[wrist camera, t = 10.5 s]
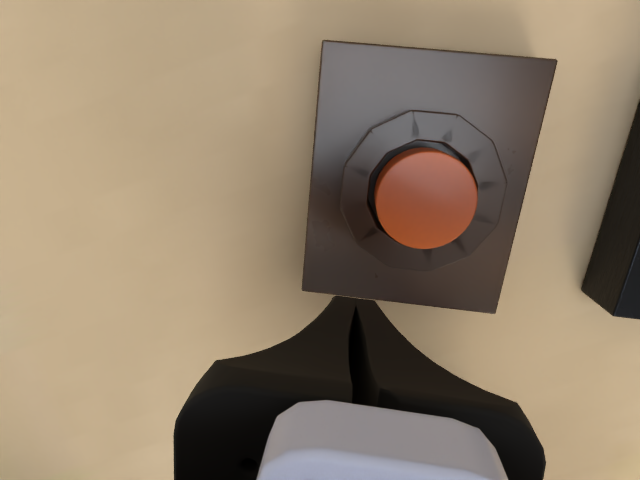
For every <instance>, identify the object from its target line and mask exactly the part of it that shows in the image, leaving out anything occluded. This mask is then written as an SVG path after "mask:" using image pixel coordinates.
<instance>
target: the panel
mask: <svg viewBox="0 0 640 480" xmlns="http://www.w3.org/2000/svg"><path fill="white" fill-rule="evenodd" d="M581 290H582V291H583V292H584V293H585V294H586V295H587V296H589V297H590V298H591V299H592V300H594V301H595V302H596V303H597V304H599V305H600V306H601V307H602V308H604V309H605V310H606V311H607V312H609V313H610V314H611V315H612V316H616V317H625V318H633V319H640V103H639V106H638V110H637V113H636V116H635V119H634V122H633V126H632V129H631V132H630V135H629V139H628V142H627V145H626V148H625V151H624V155H623V158H622V161H621V164H620V167H619V171H618V174H617V177H616V180H615V183H614V187H613V190H612V193H611V196H610V199H609V203H608V206H607V209H606V212H605V215H604V219H603V222H602V225H601V228H600V231H599V235H598V238H597V241H596V244H595V248H594V251H593V254H592V257H591V260H590V264H589V267H588V270H587V273H586V276H585V280H584V283H583V286H582V289H581Z"/></svg>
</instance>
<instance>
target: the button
mask: <svg viewBox="0 0 640 480" xmlns="http://www.w3.org/2000/svg"><path fill="white" fill-rule="evenodd" d="M374 200H375V206H376V211H377V216H378V219H379V221H380V223H381V225H382V227H383V228H384V230H385V231H386V232H387V233H388V234H389V236H391V237H392V238H393V239H394V240H396V241H397V242H399V243H401V244H403V245H405V246H408V247H411V248H417V249H431V248H436V247H440V246H443V245H445V244H447V243H450V242H451V241H453V240H454V239H456V238H457V237H458V236H460V235H461V234H462V233H463V232H464V231H465V230H466V228H467V227H468V226H469V224H470V223H471V221H472V219H473V217H474V214H475V211H476V208H477V202H478V193H477V187H476V183H475V180H474V178H473V176H472V174H471V172H470V171H469V169H468V168H467V167H466V166H465V165H464V164H463V163H462V162H461V161H460V160H458V159H457V158H455V157H453V156H451V155H449V154H447V153H445V152H443V151H440V150H437V149H434V148H428V147H420V148H413V149H409V150H406V151H404V152H402V153H400V154H398V155H396V156H395V157H393V158H392V159H391V160H390V161H389V162H388V163H387V164H386V165H385V166H384V167H383V169H382V170H381V172H380V174H379V176H378V178H377V181H376V184H375V190H374Z"/></svg>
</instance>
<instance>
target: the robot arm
mask: <svg viewBox="0 0 640 480" xmlns="http://www.w3.org/2000/svg"><path fill="white" fill-rule="evenodd" d="M545 465H546V461H545V455H544V450H543V447H542V445H541V443H540V441H539V439H538V438H537V436H536V434H535V432H534V430H533V428H532V426H531V424H530V422H529V420H528V419H527V417H526V416H525V414H524V413H523V411H522V409H521V408H520V406H519V405H518V403H516V402H513V401H511V400H508V399H506V398H503V397H500V396H498V395H495V394H493V393H490V392H488V391H485V390H483V389H481V388H479V387H477V386H475V385H472V384H470V383H468V382H466V381H464V380H462V379H461V378H459V377H457V376H455V375H453V374H452V373H450V372H449V371H447V370H445V369H444V368H442V367H441V366H439V365H437V364H436V363H435V362H433V361H432V360H430V359H429V358H428V357H426V356H425V355H424V354H423V353H421V352H420V351H419V350H418V349H416V348H415V347H414V346H413V345H412V344H411V343H410V342H409V341H408V340H407V339H406V338H405V337H404V336H403V335H402V334H401V333H400V332H399V331H398V330H397V329H396V328H395V327H394V325H393V324H392V323H391V322H390V321H389V320H388V318H387V317H386V316H385V314H384V313H383V312H382V310H381V309H380V308H379V306H378V305H377V304H376V302H375V301H373V300H366V299H358V298H351V297H343V296H335V297H333V298H332V300H331V302H330V303H329V304H328V306H327V307H326V308H325V309H324V310H323V311H322V313H321V314H320V315H319V316H318V317H317V318H316V319H315V320H314V321H312V322H311V323H310V324H309V325H308V326H307V327H305V328H304V329H303V330H302V331H300V332H299V333H298V334H296V335H295V336H293V337H291V338H290V339H288V340H286V341H284V342H282V343H279V344H277V345H275V346H273V347H271V348H268V349H265V350H262V351H259V352H256V353H252V354H249V355H245V356H240V357H234V358H229V359H223V360H216V361H215V362H214V363H213V365H212V366H211V367H210V368H209V370H208V371H207V372H206V373H205V374H204V375H203V377H202V378H201V379H200V381H199V382H198V383H197V384H196V386H195V388H194V389H193V391H192V392H191V394H190V396H189V397H188V399H187V401H186V402H185V404H184V406H183V408H182V410H181V411H180V413H179V415H178V417H177V419H176V422H175V429H174V480H543V477H544V471H545Z"/></svg>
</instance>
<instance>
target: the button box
mask: <svg viewBox="0 0 640 480" xmlns="http://www.w3.org/2000/svg"><path fill="white" fill-rule="evenodd" d="M556 65H557V60H556V59H546V58H534V57H523V56H511V55H499V54H487V53H475V52H463V51H451V50H439V49H427V48H415V47H403V46H391V45H379V44H367V43H355V42H343V41H331V40H323V41H322V48H321V60H320V72H319V84H318V96H317V108H316V120H315V133H314V145H313V157H312V169H311V181H310V193H309V206H308V218H307V230H306V242H305V254H304V266H303V279H302V291H308V292H316V293H325V294H333V295H341V296H350V297H358V298H366V299H375V300H383V301H391V302H400V303H408V304H416V305H425V306H433V307H441V308H450V309H458V310H466V311H475V312H483V313H491V314H495V313H496V309H497V305H498V301H499V297H500V293H501V289H502V284H503V280H504V276H505V272H506V268H507V264H508V260H509V256H510V252H511V248H512V244H513V240H514V236H515V232H516V228H517V224H518V219H519V215H520V211H521V207H522V203H523V199H524V195H525V191H526V187H527V183H528V179H529V175H530V171H531V167H532V163H533V159H534V154H535V150H536V146H537V142H538V138H539V134H540V130H541V126H542V122H543V118H544V114H545V110H546V106H547V102H548V98H549V93H550V89H551V85H552V81H553V77H554V73H555V69H556ZM420 147H428V148H434V149H437V150H440V151H443V152H445V153H447V154H449V155H451V156H453V157H455V158H457V159H458V160H460V161H461V162H462V163H463V164H464V165H465V166H466V167H467V168H468V169H469V171H470V172H471V174H472V176H473V178H474V180H475V183H476V187H477V193H478V202H477V208H476V211H475V214H474V217H473V219H472V221H471V223H470V224H469V226H468V227H467V228H466V230H465V231H464V232H463V233H462V234H461V235H460V236H458V237H457V238H456V239H454V240H453V241H451V242H450V243H447V244H445V245H443V246H440V247H436V248H431V249H417V248H411V247H408V246H405V245H403V244H401V243H399V242H397V241H396V240H394V239H393V238H392V237H391V236H389V234H388V233H387V232H386V231H385V230H384V228H383V227H382V225H381V223H380V221H379V219H378V216H377V211H376V206H375V200H374V190H375V184H376V181H377V178H378V176H379V174H380V172H381V170H382V169H383V167H384V166H385V165H386V164H387V163H388V162H389V161H390V160H391V159H392V158H393V157H395V156H396V155H398V154H400V153H402V152H404V151H406V150H409V149H413V148H420Z"/></svg>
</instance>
